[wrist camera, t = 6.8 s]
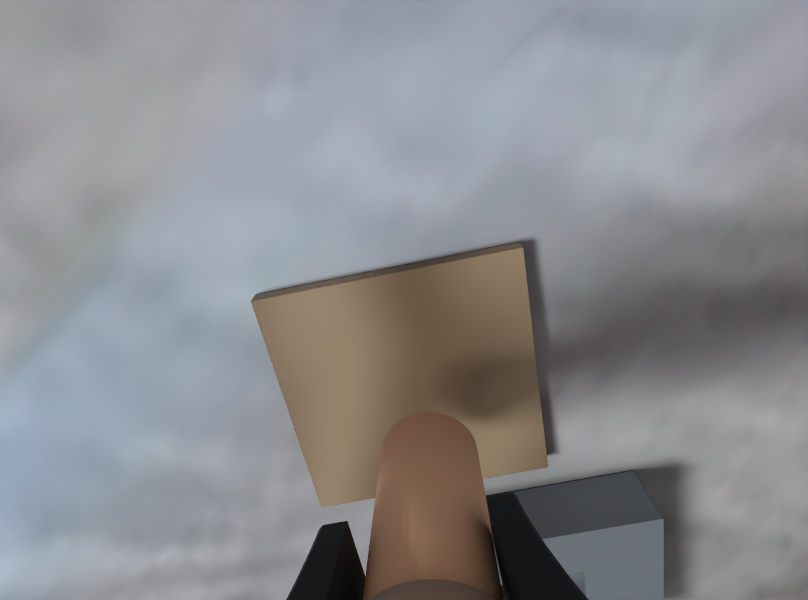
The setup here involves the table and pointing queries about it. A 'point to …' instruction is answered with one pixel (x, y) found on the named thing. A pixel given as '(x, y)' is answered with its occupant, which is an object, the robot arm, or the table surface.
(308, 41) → the table surface
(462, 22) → the table surface
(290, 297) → the coaster
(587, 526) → the socket
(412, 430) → the plug
